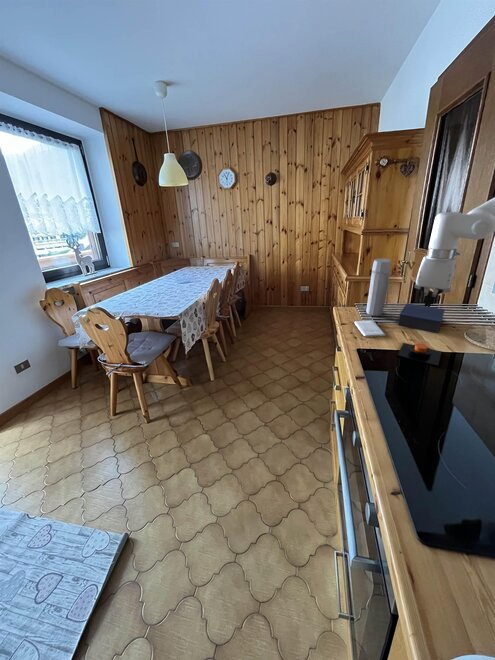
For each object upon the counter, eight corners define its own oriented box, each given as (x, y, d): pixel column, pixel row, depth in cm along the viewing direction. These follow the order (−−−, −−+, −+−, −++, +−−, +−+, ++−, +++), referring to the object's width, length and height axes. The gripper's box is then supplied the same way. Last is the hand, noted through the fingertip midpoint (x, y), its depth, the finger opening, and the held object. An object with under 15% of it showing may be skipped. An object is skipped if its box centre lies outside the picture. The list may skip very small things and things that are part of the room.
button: (427, 349, 98) (428, 345, 97) (425, 354, 95) (426, 349, 94) (415, 346, 100) (416, 342, 99) (413, 351, 97) (414, 346, 96)
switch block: (440, 354, 99) (442, 347, 97) (437, 368, 92) (439, 361, 90) (402, 345, 105) (404, 338, 104) (396, 358, 98) (398, 351, 97)
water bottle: (361, 313, 133) (369, 260, 122) (373, 309, 136) (381, 257, 125) (378, 319, 126) (387, 264, 114) (390, 315, 129) (400, 261, 117)
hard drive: (373, 323, 123) (385, 337, 112) (354, 324, 123) (364, 338, 112) (373, 320, 122) (385, 333, 111) (354, 321, 122) (364, 334, 111)
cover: (440, 323, 109) (441, 321, 109) (399, 315, 118) (399, 314, 117) (444, 311, 120) (444, 309, 119) (406, 304, 128) (406, 303, 127)
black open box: (437, 333, 112) (440, 323, 110) (397, 325, 120) (399, 315, 118) (441, 320, 122) (444, 311, 120) (404, 313, 130) (406, 305, 128)
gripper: (469, 252, 90) (454, 306, 98) (417, 249, 99) (406, 298, 107) (467, 258, 85) (451, 313, 93) (412, 253, 93) (401, 305, 102)
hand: (427, 305), depth 100 cm, fingers closed
